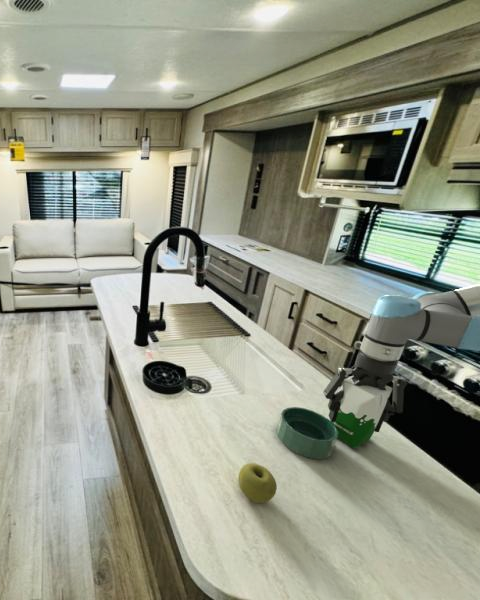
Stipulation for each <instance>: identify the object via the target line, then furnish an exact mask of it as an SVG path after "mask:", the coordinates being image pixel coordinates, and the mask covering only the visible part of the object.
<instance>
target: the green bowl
mask: <svg viewBox="0 0 480 600" xmlns="http://www.w3.org/2000/svg"><path fill="white" fill-rule="evenodd" d="M276 433H277V437H278V438H279V440H280V441H281V443H282V444H283V445H285V446H286V447H287V448H288V449H289V450H290V451H292V452H295V453H297V454H298V455H301V456H303V457H306V458H309V459H315V460H322V459H327V458H329V457H330V456H332V454H333V451H334V448H335V445H336V443H337V440H338V438H337V437H338V431H337V428H336V426H335V425H334V424H333V423H332V422H331V420H330V419H328V418H327V417H325V416H324V415H322V414H320V413H319V412H316V411H314V410H312V409H308V408H304V407H297V406H291V407H286V408H285V409H283V410H282V411H281V413H280V417H279V421H278V425H277V428H276Z"/></svg>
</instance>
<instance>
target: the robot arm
mask: <svg viewBox="0 0 480 600" xmlns="http://www.w3.org/2000/svg"><path fill="white" fill-rule="evenodd" d="M408 340H413V341H418V342H423V343H424V342H425V343H428V344H429V343H430V344H435V345H440V346H445V347H451V348H456V349H460V350H470V351H476V352H477V351H478V352H480V283H479V284H474V285H471V286H466V287H462V288H459V289H455V290H454V289H453V290H450V291H445V292H442V293H439V292H435V291H423V292H419V293H417V294H415V295H414V296H412V297H407V296H404V295H396V294H385V295H381V296H380V297H378V299H377V301H376V303H375V305H374V307H373V309H372V311H371V315H370V318H369V321H368V325H367V327H366V330H365V334H364V336H363V338H362V341H361V344H360V347H359V349H360V350H359V351H358V353H357V355H356V359H355V361H354V365H353V366H351V367H350V368H349V367H344V366H343V365H338V366H337V369H336V373H335V374H334V376H333V377H332V379H331V380H330V382H329V383H328V384H327V386H326V387H325V388H324V390H323V395H324V398H325V399H327V400H329V401H328V403H327V407H328V410H329V413H328V418H329V420H330V421H331V422H335V419H336V417H337V414H338V411H339V408H340V405H341V403H340V402H339V401H340V400H341V399H342V398H343V396H344V391H343V389H342V383H343V381H344V380H345V379H346V378H348V377H350V378H351V381H352V382H353V384H354V385H356V386H362V385H364V386H366V385H367V386H372V387H376V388H377V387H378V388H379V389H380V390H385V391H386V389H385V386H384V385H387V384H389V383H390V382H392V388H393V389H392V404H391V402H390V399H389V398H387V403H386V405H385V408H384V410H383V412H382V415H381V417H380V420H379V422H378V424H377V427H376V429H375V431H374V433H379V432H380V431H381V428H382V426H383V423H387V422H389V419H390V417H391V416H394V415H395V413H397V414H402V413H403V412H404V396H405V395H404V393H405V388H406V387H407V385H408V381H407V380H406V379H405V378H404V376H402V375H394V373H395V372H396V369H397V367H398V364H399V360H400V359H401V356H402V354H403V352H404V349H405V346H406V345H407V342H408ZM349 375H351V376H352V377H351V376H349ZM353 379H356V381H357V382H356V383H355V381H354V380H353Z"/></svg>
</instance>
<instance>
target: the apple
mask: <svg viewBox="0 0 480 600" xmlns="http://www.w3.org/2000/svg"><path fill="white" fill-rule="evenodd" d="M237 479H238V485H239V488H240V490H241V492H242V493H243V495H244V496H245V497H247V499H248V500H250V501H252V502H255V503H257V504H265V503H268V502H270V501H271V500H272V499H273V498H274V497H275V495H276V494H277V481H276V479H275V476H274V475H273V474H272V473H271V471H270V470H269V469H268V468H266V467H265V466H264V465H261V464H259V463H254V462H248V463H246V464H244V465H243V466H241V468H240V469H239V472H238V477H237Z"/></svg>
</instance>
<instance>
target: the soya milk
mask: <svg viewBox="0 0 480 600" xmlns="http://www.w3.org/2000/svg"><path fill="white" fill-rule="evenodd" d="M352 376H353V375H351V376H348V377H346V378H345V379H344V381H343V382H342V384H341V386H342V389H343V391H344V396H343V398H342V399H341V400H340V401H339V402H340V403H341V405H340V408H339V411H338V414H337V417H336V419H335V422H332V423H333V424H334V425H335V426H336V428H337V431H338V437H337V440H338V439H339V440H340V441H342V442H343V443H344V444H347V445H348V446H349V447H351V448H352V449H357V448H358V447H359V446H361V445H363V444H365V443H367V442H369V441H370V440H371V438H372V437H373V435H374V433H375V429H376V427H377V424H378V422H379V420H380V417H381V415H382V412H383V410H384V408H385V405H386V403H387V398H388V399H389V398H390V396H391V393H392V392H393V387H392V386H389V385H387V384H385V385H384V386H385V389H386V391H385V390H380V389H379V388H378V387H377V388H376V387H372V386H367V385H366V386H364V385H362V386H356V385H354V384H353V382H352V381H351V378H350V377H352ZM353 380H354V381H355V383H356V382H357V381H356V379H353Z"/></svg>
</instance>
